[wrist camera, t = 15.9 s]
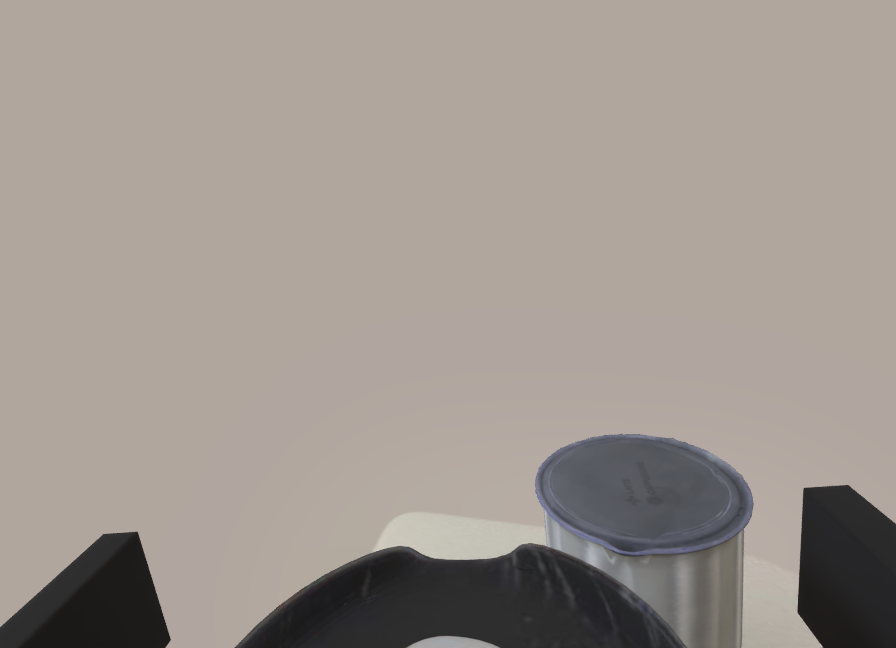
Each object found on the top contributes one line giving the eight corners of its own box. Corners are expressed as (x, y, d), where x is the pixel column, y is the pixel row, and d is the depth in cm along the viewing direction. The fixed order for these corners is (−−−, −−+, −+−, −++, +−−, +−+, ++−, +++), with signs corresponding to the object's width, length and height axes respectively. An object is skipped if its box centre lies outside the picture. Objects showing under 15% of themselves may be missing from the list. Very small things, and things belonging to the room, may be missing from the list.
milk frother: (784, 850, 22) (800, 546, 18) (418, 821, 24) (370, 549, 21) (683, 595, 35) (681, 392, 32) (456, 593, 38) (430, 406, 34)
